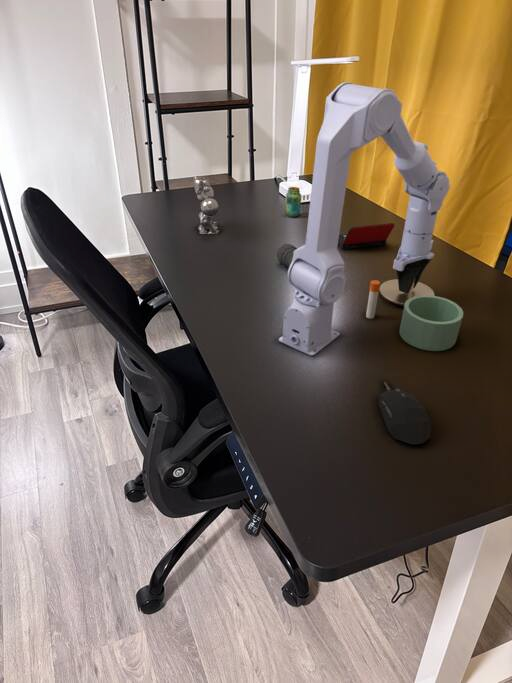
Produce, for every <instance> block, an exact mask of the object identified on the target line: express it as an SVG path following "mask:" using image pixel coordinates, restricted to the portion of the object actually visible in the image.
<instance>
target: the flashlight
mask: <svg viewBox="0 0 512 683" xmlns="http://www.w3.org/2000/svg"><path fill="white" fill-rule="evenodd" d="M296 249H298V248H297V247H296V246H295V245H293V244H291V243H284V244H282V245H280V246H279V248H278V249H277V252H276V258H277V261H278V262H279V264H281V265H282V266H284V267H285V268H288V269H289V267H290V264H291V262H292V260H293V254H294V251H295V250H296Z"/></svg>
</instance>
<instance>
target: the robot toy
mask: <svg viewBox="0 0 512 683" xmlns="http://www.w3.org/2000/svg"><path fill="white" fill-rule="evenodd" d="M205 178H206V177H202V176H200V175H197V176H195V177H194V178H193V189H194V191H195V195H196V199H197V201H198V202H199V203H200V211H201V212H199V214H198V215H197V216H198V220H199V223H200V225H199V226H198V227H197V229H198V231H199V234H200V235H218V234H219V233H220V230H219V226H218V224H216V223H217V221H214V217H215V215H217V213H218V212H219V208H220V207H219V203H218V202H217V200H216V199H214V198H215V193H214V192H215V191H214V189H213V188H212V186H211V184H210V183H209V179H210V178H207V179H205Z"/></svg>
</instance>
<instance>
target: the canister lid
mask: <svg viewBox="0 0 512 683" xmlns="http://www.w3.org/2000/svg"><path fill="white" fill-rule="evenodd" d="M414 282H415V279H414V281H413V284H412V287H411V290H410V292H409V293H408V294H407V293H404V292H401V291H399V286H398V278H395V279H394V278H393V279H388V280H386V281H384V282H383V283H380V287H379V291H378V293H379V295H380V296H381V297H382V298H383V299H384V300H386V301H387V302H390V303H392V304H395V305H398V306H402V307H404V305H405V302H406V301H407V300H408V299H410V298H412V297H415V296H420V295H432V296H435V292H434V290H433V288H431V287H429V286H428V285H427V284H425V283H423V282H420V281H418V283H417V285H416V287H415V288H413V287H414Z"/></svg>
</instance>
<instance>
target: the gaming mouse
mask: <svg viewBox="0 0 512 683" xmlns="http://www.w3.org/2000/svg"><path fill="white" fill-rule="evenodd" d="M383 384H384V386H385V388H386V390H385V391H383V392H382V393H380V394H379V398H378V401H377V404H378V408H379V410H380V413H381V416H382V418H383V421H384V424H385V426H386V429H387V431H388V432H389V434H390V435H391V436H392V437H393V439H396V440H398V441H401V442H404V443H406V444H409V445H420V444H423V443H425V442H426V441H427V440H429V439H430V438H431V436H432V435H431V434H432V421H431V420H430V417H429V414H428V412H427V410H426V408H425V407H424V405H423V404H422V403H421V401H420V400H418V398H416V396H414V395H413V394H411V393H409V392H407V391H403V390H401V389H400V388H395V389H392V388H391V387H390V386H389V385H388V383H387V382H386V381H384V382H383Z"/></svg>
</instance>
